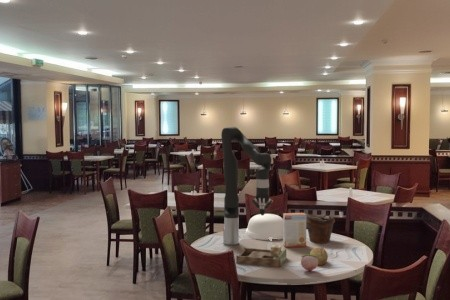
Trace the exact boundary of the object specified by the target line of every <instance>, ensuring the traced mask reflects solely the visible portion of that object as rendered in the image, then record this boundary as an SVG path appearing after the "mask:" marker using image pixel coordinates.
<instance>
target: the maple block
mask: <svg viewBox="0 0 450 300" xmlns="http://www.w3.org/2000/svg"><path fill="white" fill-rule="evenodd" d="M270 250H271V256H279V255H280V254H281V251H282V245H281V244H280V245H277V244H272V245H271V246H270Z"/></svg>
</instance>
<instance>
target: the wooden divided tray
mask: <svg viewBox="0 0 450 300" xmlns="http://www.w3.org/2000/svg"><path fill="white" fill-rule="evenodd" d="M243 249H244V250H243V251H242V252H240V254H238V255H236V256H235V259H236V264H243V265H254V266H263V267H275V268H281V267H282V266H283V263H284V262H285V261H286V260H287V247H284V248H283V249H282V250H281V254H280V255H279V256H271V249H264V248H253V247H252V248H251V247H244V248H243Z"/></svg>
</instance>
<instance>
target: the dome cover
mask: <svg viewBox="0 0 450 300" xmlns="http://www.w3.org/2000/svg"><path fill="white" fill-rule="evenodd" d="M244 235H245V236H246V238H247V237H248V238H249V239H255V240H261V241H269V240H268V238H269V237H273V238H277V239H278V240H283V217H281V216H279V215H276V214H273V213H265V214H264V215H261V214H260V213H258V214H256V215H253V216H252V217H251V218H250V219H249V220H248V225H247V228H246V229H245V233H244Z"/></svg>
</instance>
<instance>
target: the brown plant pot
mask: <svg viewBox="0 0 450 300" xmlns="http://www.w3.org/2000/svg"><path fill="white" fill-rule="evenodd" d="M334 223H336V220H335V217H334V216H333V215H330V214H326V215H324V216H322V215H321V216H320V215H319V216H318V215H314V214H309V213H307V214H306V228H307V232H308V237H309V241H310V242H312V243H318V244H326V243H329V242H330V240H331V237H332V231H333V227H334Z"/></svg>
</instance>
